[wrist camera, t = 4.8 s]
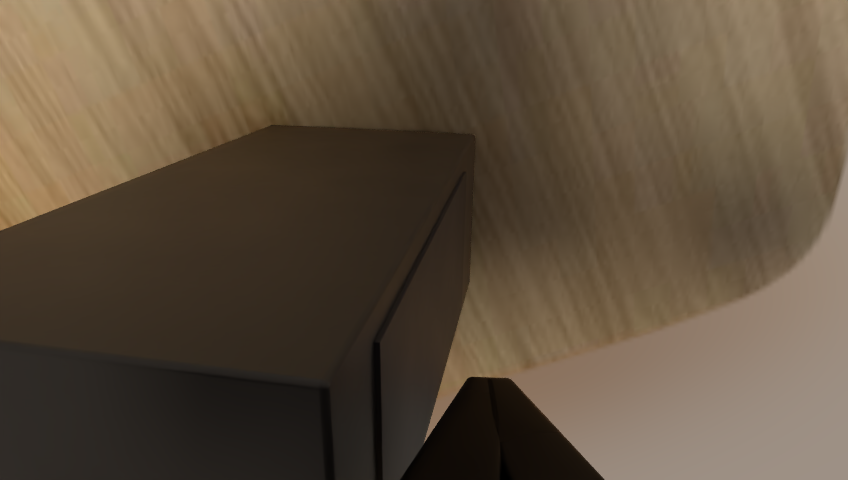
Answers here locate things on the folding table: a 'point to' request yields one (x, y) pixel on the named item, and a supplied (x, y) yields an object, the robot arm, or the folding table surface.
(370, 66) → the folding table surface
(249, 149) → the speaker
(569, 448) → the robot arm
